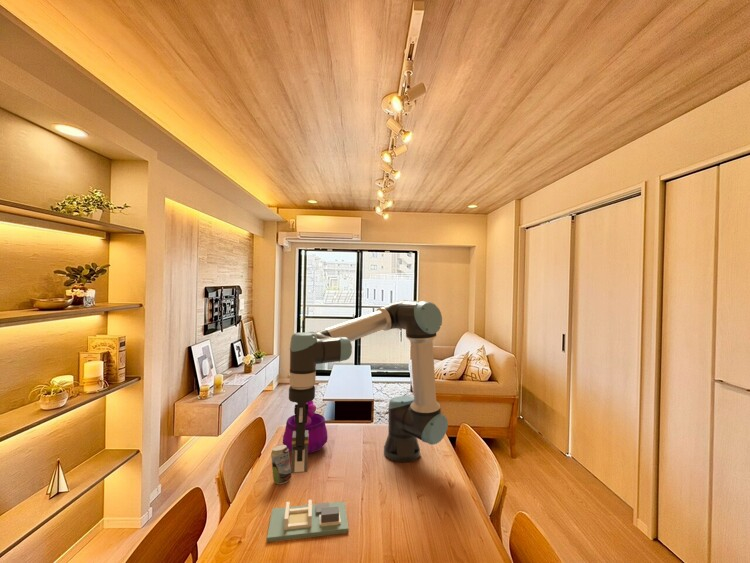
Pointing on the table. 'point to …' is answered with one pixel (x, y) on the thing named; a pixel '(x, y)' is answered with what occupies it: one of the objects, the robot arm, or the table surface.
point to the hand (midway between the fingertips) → (299, 466)
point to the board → (307, 521)
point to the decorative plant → (314, 428)
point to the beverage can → (281, 464)
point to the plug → (294, 452)
